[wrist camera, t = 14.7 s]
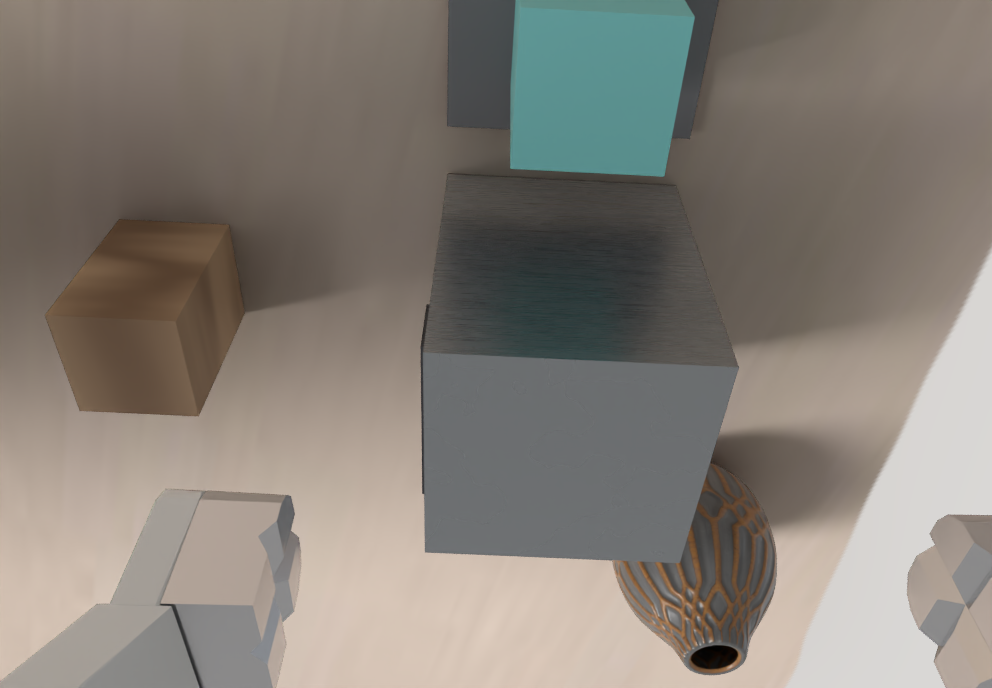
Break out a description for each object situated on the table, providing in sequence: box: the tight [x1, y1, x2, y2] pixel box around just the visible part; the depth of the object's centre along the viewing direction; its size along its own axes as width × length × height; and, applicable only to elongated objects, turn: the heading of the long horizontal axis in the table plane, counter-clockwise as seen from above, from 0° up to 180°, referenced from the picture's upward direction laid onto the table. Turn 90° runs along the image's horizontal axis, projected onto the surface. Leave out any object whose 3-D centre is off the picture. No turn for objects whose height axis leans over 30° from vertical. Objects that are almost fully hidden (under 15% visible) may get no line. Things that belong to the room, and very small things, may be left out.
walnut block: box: [45, 219, 245, 416], centre depth 28 cm, size 4×4×6 cm
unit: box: [421, 174, 739, 563], centre depth 27 cm, size 8×8×10 cm
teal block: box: [510, 0, 695, 177], centre depth 22 cm, size 4×4×6 cm
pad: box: [447, 0, 719, 139], centre depth 25 cm, size 8×7×1 cm
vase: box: [613, 463, 777, 675], centre depth 35 cm, size 7×7×9 cm
